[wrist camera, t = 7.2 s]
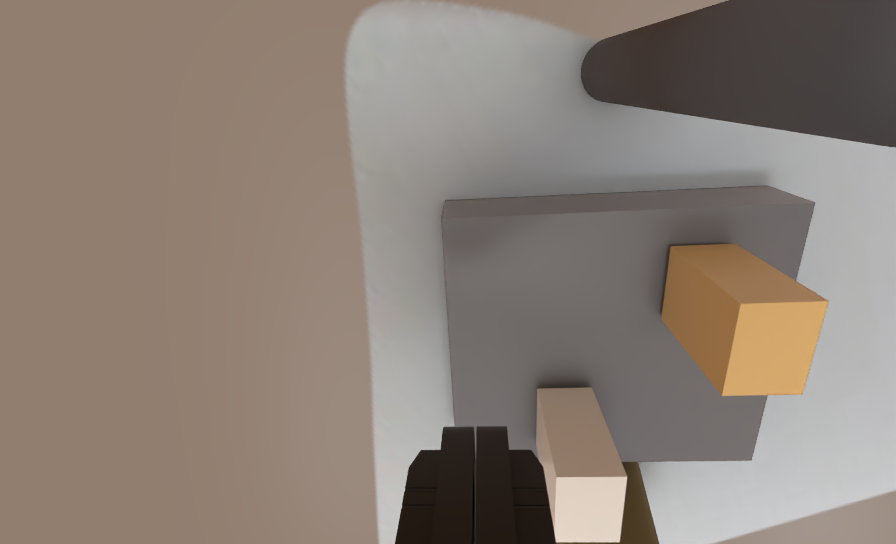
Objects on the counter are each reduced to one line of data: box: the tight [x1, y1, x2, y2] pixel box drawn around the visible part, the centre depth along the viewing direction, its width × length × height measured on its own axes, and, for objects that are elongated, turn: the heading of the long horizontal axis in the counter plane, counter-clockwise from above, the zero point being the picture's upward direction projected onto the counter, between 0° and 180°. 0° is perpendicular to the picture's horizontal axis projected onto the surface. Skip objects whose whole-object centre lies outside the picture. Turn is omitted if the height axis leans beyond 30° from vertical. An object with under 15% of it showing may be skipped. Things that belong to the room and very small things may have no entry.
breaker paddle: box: [661, 244, 829, 396], centre depth 16 cm, size 2×3×5 cm
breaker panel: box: [441, 186, 815, 462], centre depth 21 cm, size 14×12×3 cm
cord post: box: [581, 0, 896, 147], centre depth 12 cm, size 2×2×14 cm
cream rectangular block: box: [536, 387, 627, 542], centre depth 19 cm, size 2×3×5 cm
